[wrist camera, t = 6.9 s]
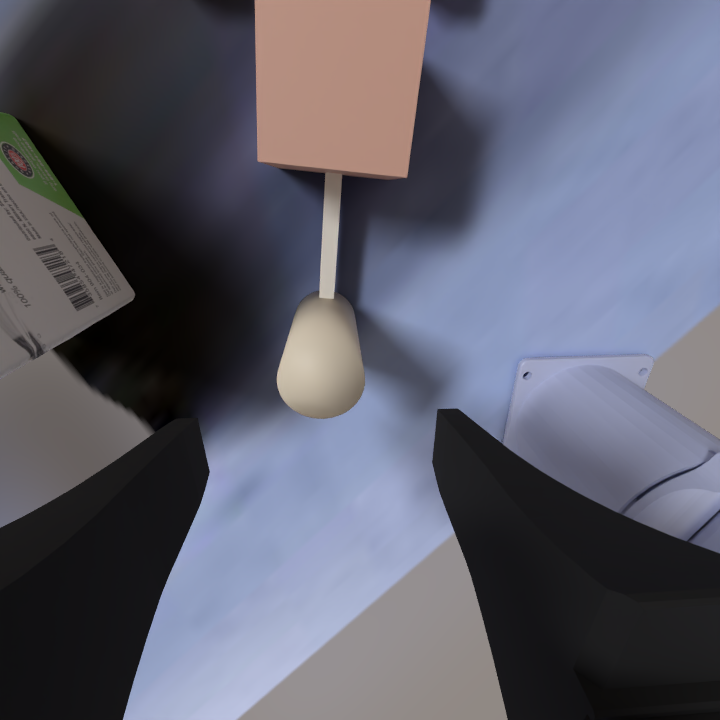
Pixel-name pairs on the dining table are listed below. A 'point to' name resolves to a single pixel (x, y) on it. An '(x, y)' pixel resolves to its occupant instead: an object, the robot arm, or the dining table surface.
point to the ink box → (46, 258)
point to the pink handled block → (334, 152)
